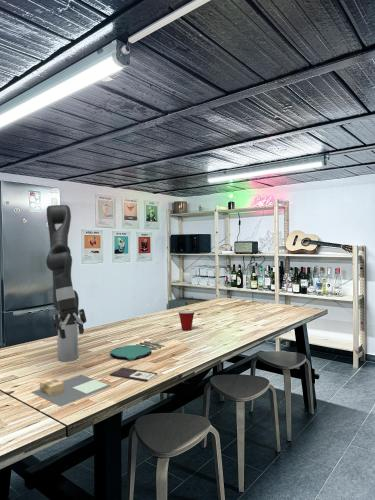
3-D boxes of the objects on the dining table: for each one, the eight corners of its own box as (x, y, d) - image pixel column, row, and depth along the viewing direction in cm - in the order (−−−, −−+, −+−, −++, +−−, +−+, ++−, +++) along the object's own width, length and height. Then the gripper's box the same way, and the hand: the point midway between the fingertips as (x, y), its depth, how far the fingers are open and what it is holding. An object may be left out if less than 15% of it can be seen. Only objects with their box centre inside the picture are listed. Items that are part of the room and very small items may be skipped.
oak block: (39, 391, 135) (39, 381, 135) (52, 386, 139) (51, 377, 139) (51, 396, 130) (51, 386, 130) (63, 391, 134) (63, 382, 134)
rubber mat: (30, 393, 134) (30, 391, 134) (81, 376, 151) (81, 374, 151) (60, 408, 122) (60, 406, 122) (111, 387, 139) (111, 385, 139)
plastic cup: (195, 327, 234) (195, 309, 233) (194, 332, 223) (194, 312, 223) (179, 327, 235) (178, 309, 234) (177, 331, 224) (176, 312, 224)
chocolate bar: (122, 367, 160) (157, 373, 152) (122, 369, 160) (157, 375, 152) (109, 374, 151) (145, 380, 144) (109, 376, 151) (146, 382, 144)
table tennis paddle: (102, 356, 178) (102, 351, 178) (142, 342, 203) (142, 338, 203) (131, 364, 167) (131, 359, 167) (170, 348, 191) (170, 344, 191)
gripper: (75, 297, 162) (82, 333, 160) (46, 302, 151) (52, 341, 149) (85, 294, 157) (92, 331, 155) (55, 299, 146) (62, 339, 144)
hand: (72, 336), depth 152 cm, fingers open, 8 cm apart
